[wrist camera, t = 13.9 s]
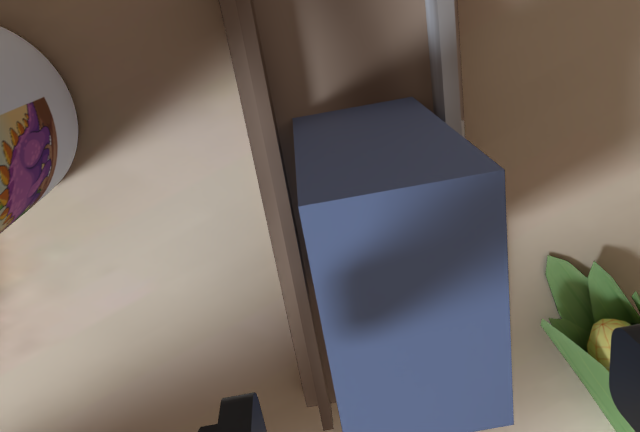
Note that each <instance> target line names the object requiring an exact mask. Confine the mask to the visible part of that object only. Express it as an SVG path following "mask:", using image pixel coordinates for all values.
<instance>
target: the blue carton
mask: <svg viewBox="0 0 640 432" xmlns="http://www.w3.org/2000/svg"><path fill="white" fill-rule="evenodd" d="M292 120H293V135H294V151H295V166H296V182H297V197H298V209H299V214H300V219H301V224H302V229H303V234H304V239H305V244H306V249H307V254H308V259H309V264H310V269H311V274H312V279H313V284H314V289H315V294H316V300H317V305H318V310H319V315H320V320H321V325H322V330H323V335H324V340H325V345H326V350H327V355H328V360H329V365H330V370H331V375H332V380H333V385H334V390H335V396H336V401H337V406H338V411H339V416H340V421H341V426H342V431H343V432H474V431H480V430H486V429H492V428H497V427H503V426H509V425H514V419H513V391H512V364H511V336H510V308H509V280H508V252H507V224H506V196H505V170H504V169H503V168H502V167H501V166H499V165H498V164H497V163H495V162H494V161H493V160H492V159H490V158H489V157H488V156H487V155H485V154H484V153H483V152H482V151H480V150H479V149H478V148H477V147H475V146H474V145H473V144H472V143H470V142H469V141H468V140H466V139H465V138H464V137H463V136H461V135H460V134H459V133H458V132H456V131H455V130H454V129H453V128H451V127H450V126H449V125H448V124H446V123H445V122H444V121H442V120H441V119H440V118H439V117H437V116H436V115H435V114H434V113H432V112H431V111H430V110H429V109H427V108H426V107H425V106H424V105H422V104H421V103H420V102H419V101H417V100H416V99H415V98H413V97H407V98H402V99H396V100H391V101H385V102H380V103H374V104H369V105H363V106H358V107H352V108H347V109H341V110H335V111H330V112H324V113H319V114H313V115H308V116H302V117H297V118H292Z"/></svg>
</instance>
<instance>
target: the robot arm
mask: <svg viewBox="0 0 640 432" xmlns="http://www.w3.org/2000/svg"><path fill="white" fill-rule="evenodd" d="M609 389H610V393H611V397H612V399H613V402H614V404H615V406H616V408H617V409H618V411H619V412H620V414H621V415H622V416H623V417H624V418H625V420H626V421H627V422H628V423H629V424H630V426H631V427H632V428H633V429H634V430H635V432H640V324H635V325H630V326H624V327H619V328H615V329H614V330H613V332H612V335H611V351H610V370H609ZM198 432H267V431H266V427H265V423H264V419H263V415H262V411H261V408H260V404H259V400H258V397H257V394H256V393H255V392H254V393H249V394H243V395H238V396H232V397H227V398H223V399H222V400H221V405H220V412H219V419H218V424H215V425H209V426H204V427H201V428H200V429H199V431H198Z"/></svg>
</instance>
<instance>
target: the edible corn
mask: <svg viewBox="0 0 640 432" xmlns="http://www.w3.org/2000/svg"><path fill="white" fill-rule="evenodd" d="M546 277H547V280H548V283H549V286H550V289H551V292H552V295H553V298H554V301H555V304H556V307H557V310H558V313H559V314H560V316H561V318H562V319H553V318H549V320H550V322H551V324H552V325H550V324H549V323H548V322H546V321H545V320H544V319H542V321H541V326H542V328H543V329H544V331H545V332H546V333H547V335H548V336H549V337H550V339H551V340H552V341H553V343H554V344H555V346H556V347H557V348H558V350H559V351H560V352H561V354H562V355H563V357H564V358H565V359H566V361H567V362H568V363H569V365H570V366H571V368H572V369H573V370H574V372H575V373H576V374H577V376H578V377H579V378H580V380H581V381H582V383H583V384H584V385H585V387H586V388H587V390H588V391H589V393H590V394H591V396H592V397H593V399H594V400H595V401H596V403H597V404H598V406H599V407H600V409H601V410H602V412H603V413H604V415H605V416H606V417H607V419H608V420H609V422H610V423H611V425H612V426H613V428H614V429H615V431H616V432H635V430H634V429H633V428H632V427H631V426H630V424H629V423H628V422H627V421H626V420H625V418H624V417H623V416H622V415H621V414H620V412H619V411H618V409H617V408H616V406H615V404H614V402H613V399H612V397H611V393H610V389H609V370H610V351H611V335H612V332H613V330H614V329H615V328H619V327H624V326H630V325H635V324H640V316H639V315H638V313H637V312H636V310H635V309H634V308H633V306H632V305H631V303H630V302H629V301H628V299H627V298H626V296H625V295H624V293H623V292H622V291H621V289H620V288H619V286H618V285H617V283H616V282H615V281H614V279H613V278H612V277H611V276H610V275H609V274H608V273H607V272H606V271H605V270H603V269H602V268H601V267H600V266H599V265H598V264H597V263H596V262H595V261H594V262H593V265H592V267H591V270H590V273H589V275H588V278H587V277H585V276H584V275H583V274H582V273H581V272H580V271H578V270H577V269H576V268H575V267H574V266H573V265H571V264H570V263H569V262H568V261H565V260H562V259H559V258H556V257H552V256H549V255H548V257H547V266H546ZM632 298H633V300H634V302H635V304H636V306H637V308H638V310H639V312H640V296H639V295H638V293H637V292H636V291H635V292H634V294H633V295H632Z"/></svg>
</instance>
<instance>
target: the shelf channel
mask: <svg viewBox="0 0 640 432" xmlns="http://www.w3.org/2000/svg"><path fill="white" fill-rule="evenodd" d="M219 3H220V7H221V12H222V17H223V21H224V26H225V31H226V35H227V40H228V44H229V49H230V54H231V58H232V63H233V68H234V72H235V77H236V81H237V86H238V91H239V95H240V100H241V105H242V109H243V114H244V118H245V123H246V128H247V132H248V137H249V142H250V146H251V151H252V155H253V160H254V165H255V169H256V174H257V179H258V183H259V188H260V192H261V197H262V202H263V206H264V211H265V216H266V220H267V225H268V230H269V234H270V239H271V243H272V248H273V253H274V257H275V262H276V267H277V271H278V276H279V280H280V285H281V290H282V294H283V299H284V304H285V308H286V313H287V317H288V322H289V327H290V331H291V336H292V341H293V345H294V350H295V354H296V359H297V364H298V368H299V373H300V378H301V382H302V387H303V392H304V396H305V401H306V405H307V407H311V406H317V405H318V406H319V411H320V416H321V421H322V426H323V431H325V430H331V429H334V428H333V419H332V410H331V403H334V402H337V401H336V396H335V390H334V385H333V380H332V375H331V370H330V365H329V360H328V355H327V350H326V345H325V340H324V335H323V330H322V325H321V320H320V315H319V310H318V305H317V300H316V294H315V289H314V284H313V279H312V274H311V269H310V264H309V259H308V254H307V249H306V244H305V239H304V234H303V229H302V224H301V219H300V214H299V209H298V197H297V182H296V166H295V151H294V135H293V120H292V118H297V117H302V116H308V115H313V114H319V113H324V112H330V111H335V110H341V109H347V108H352V107H358V106H363V105H369V104H374V103H380V102H385V101H391V100H396V99H402V98H407V97H413V98H415V99H416V100H417V101H419V102H420V103H421V104H422V105H424V106H425V107H426V108H427V109H429V110H430V111H431V112H432V113H434V114H435V115H436V116H437V117H439V118H440V119H441V120H442V121H444V122H445V123H446V124H448V125H449V126H450V127H451V128H453V129H454V130H455V131H456V132H458V133H459V134H460V135H461V136H463V137H464V138H465V128H464V110H463V92H462V74H461V56H460V39H459V21H458V3H457V0H219Z"/></svg>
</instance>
